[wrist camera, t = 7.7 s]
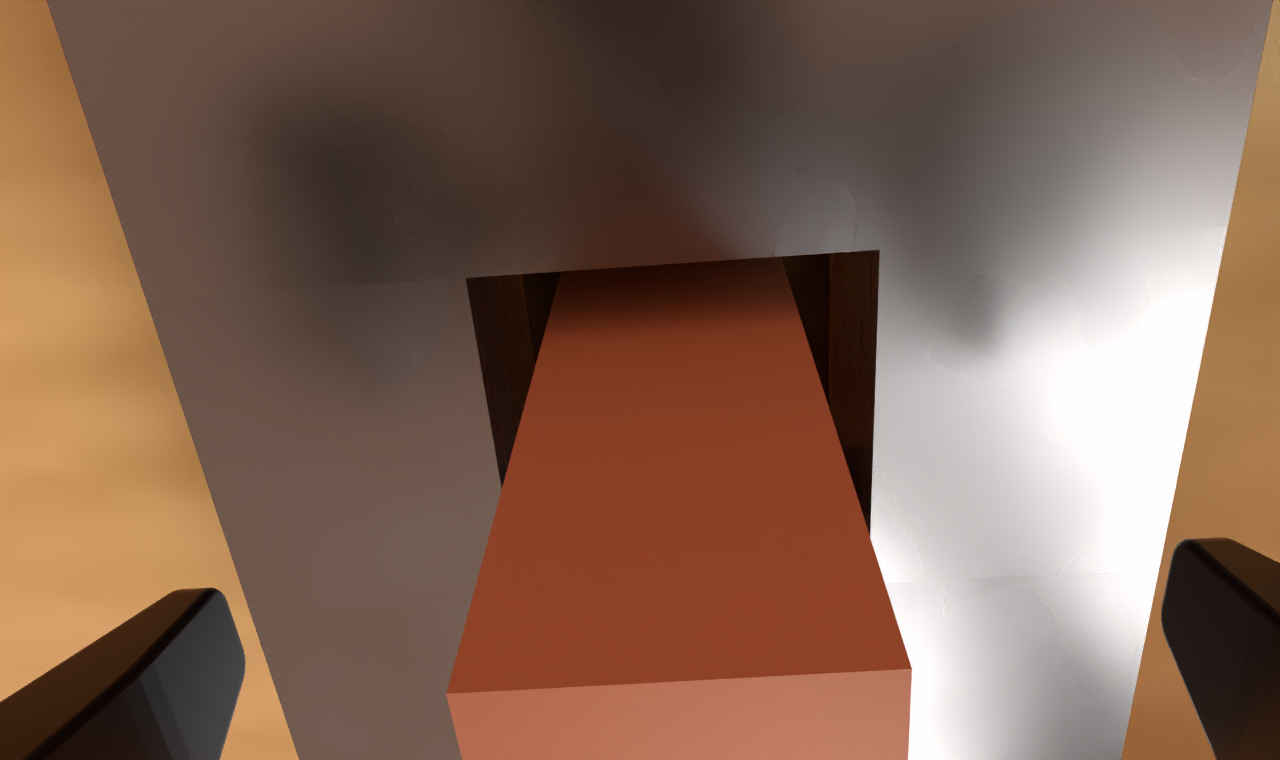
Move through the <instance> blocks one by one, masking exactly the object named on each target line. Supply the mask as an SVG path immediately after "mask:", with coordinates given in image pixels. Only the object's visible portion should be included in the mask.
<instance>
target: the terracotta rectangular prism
mask: <svg viewBox="0 0 1280 760" xmlns="http://www.w3.org/2000/svg"><path fill="white" fill-rule="evenodd" d="M911 682H912V667H911V664H910V661H909V658H908V654H907V651H906V648H905V645H904V642H903V639H902V636H901V633H900V629H899V626H898V623H897V620H896V617H895V614H894V611H893V607H892V604H891V601H890V598H889V595H888V592H887V589H886V585H885V582H884V579H883V576H882V573H881V570H880V567H879V563H878V560H877V557H876V554H875V551H874V548H873V545H872V541H871V538H870V535H869V532H868V529H867V526H866V523H865V519H864V516H863V513H862V510H861V507H860V504H859V501H858V497H857V494H856V491H855V488H854V485H853V482H852V479H851V476H850V472H849V469H848V466H847V463H846V460H845V457H844V454H843V450H842V447H841V444H840V441H839V438H838V435H837V432H836V428H835V425H834V422H833V419H832V416H831V413H830V410H829V406H828V403H827V400H826V397H825V394H824V391H823V388H822V384H821V381H820V378H819V375H818V372H817V369H816V366H815V362H814V359H813V356H812V353H811V350H810V347H809V344H808V341H807V337H806V334H805V331H804V328H803V325H802V322H801V319H800V315H799V312H798V309H797V306H796V303H795V300H794V297H793V293H792V290H791V287H790V284H789V281H788V278H787V275H786V271H785V268H784V265H783V262H782V259H781V256H780V257H765V258H750V259H736V260H721V261H706V262H692V263H677V264H662V265H647V266H633V267H618V268H603V269H589V270H574V271H561V274H560V278H559V281H558V285H557V289H556V292H555V296H554V300H553V304H552V307H551V311H550V315H549V318H548V322H547V326H546V329H545V333H544V337H543V340H542V344H541V348H540V351H539V355H538V359H537V362H536V366H535V370H534V373H533V377H532V381H531V384H530V388H529V392H528V395H527V399H526V403H525V406H524V410H523V414H522V417H521V421H520V425H519V428H518V432H517V436H516V439H515V443H514V447H513V450H512V454H511V458H510V461H509V465H508V469H507V472H506V476H505V480H504V483H503V487H502V491H501V494H500V498H499V502H498V505H497V509H496V513H495V516H494V520H493V524H492V527H491V531H490V535H489V538H488V542H487V546H486V549H485V553H484V557H483V560H482V564H481V568H480V571H479V575H478V579H477V582H476V586H475V590H474V593H473V597H472V601H471V604H470V608H469V612H468V615H467V619H466V623H465V626H464V630H463V634H462V637H461V641H460V645H459V648H458V652H457V656H456V659H455V663H454V667H453V670H452V674H451V678H450V681H449V685H448V689H447V692H446V696H447V700H448V704H449V708H450V712H451V716H452V720H453V724H454V728H455V732H456V736H457V740H458V744H459V748H460V753H461V757H462V760H908V752H909V729H910V706H911Z"/></svg>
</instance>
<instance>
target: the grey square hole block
mask: <svg viewBox="0 0 1280 760" xmlns="http://www.w3.org/2000/svg"><path fill="white" fill-rule="evenodd" d="M47 3H48V6H49V9H50V12H51V15H52V18H53V21H54V24H55V27H56V30H57V33H58V36H59V39H60V42H61V45H62V48H63V51H64V54H65V57H66V60H67V63H68V66H69V69H70V72H71V75H72V78H73V81H74V84H75V87H76V90H77V93H78V96H79V99H80V102H81V105H82V108H83V111H84V114H85V117H86V120H87V123H88V126H89V129H90V132H91V135H92V138H93V141H94V144H95V147H96V150H97V153H98V156H99V159H100V162H101V165H102V168H103V171H104V174H105V177H106V180H107V183H108V186H109V189H110V192H111V195H112V198H113V201H114V204H115V207H116V210H117V213H118V216H119V219H120V222H121V225H122V228H123V231H124V234H125V237H126V240H127V243H128V246H129V249H130V252H131V255H132V258H133V261H134V264H135V267H136V270H137V273H138V276H139V279H140V282H141V285H142V288H143V291H144V294H145V297H146V300H147V303H148V306H149V309H150V312H151V315H152V318H153V321H154V324H155V327H156V330H157V333H158V336H159V339H160V342H161V345H162V348H163V351H164V354H165V357H166V360H167V363H168V367H169V370H170V373H171V376H172V379H173V382H174V385H175V388H176V391H177V394H178V397H179V400H180V403H181V406H182V409H183V412H184V415H185V418H186V421H187V424H188V427H189V430H190V433H191V436H192V439H193V442H194V445H195V448H196V451H197V454H198V457H199V460H200V463H201V466H202V469H203V472H204V475H205V478H206V481H207V484H208V487H209V490H210V493H211V496H212V499H213V502H214V505H215V508H216V511H217V514H218V517H219V520H220V523H221V526H222V529H223V532H224V535H225V538H226V541H227V544H228V547H229V550H230V553H231V556H232V559H233V562H234V565H235V568H236V571H237V574H238V577H239V580H240V583H241V586H242V589H243V592H244V595H245V598H246V601H247V604H248V607H249V610H250V613H251V616H252V619H253V622H254V625H255V628H256V631H257V634H258V637H259V640H260V643H261V646H262V649H263V652H264V655H265V658H266V661H267V664H268V667H269V670H270V673H271V676H272V679H273V682H274V685H275V688H276V691H277V694H278V697H279V700H280V703H281V706H282V709H283V712H284V715H285V718H286V721H287V724H288V727H289V730H290V733H291V736H292V739H293V742H294V745H295V748H296V751H297V754H298V757H299V760H462V757H461V753H460V748H459V744H458V740H457V736H456V732H455V728H454V724H453V720H452V716H451V712H450V708H449V704H448V700H447V696H446V692H447V689H448V685H449V681H450V678H451V674H452V670H453V667H454V663H455V659H456V656H457V652H458V648H459V645H460V641H461V637H462V634H463V630H464V626H465V623H466V619H467V615H468V612H469V608H470V604H471V601H472V597H473V593H474V590H475V586H476V582H477V579H478V575H479V571H480V568H481V564H482V560H483V557H484V553H485V549H486V546H487V542H488V538H489V535H490V531H491V527H492V524H493V520H494V516H495V513H496V509H497V505H498V502H499V498H500V494H501V491H502V487H503V483H504V480H505V476H506V472H507V469H508V465H509V461H510V458H511V454H512V450H513V447H514V443H515V439H516V436H517V432H518V428H519V425H520V421H521V417H522V414H523V410H524V406H525V403H526V399H527V395H528V392H529V388H530V384H531V381H532V377H533V373H534V370H535V363H534V356H533V349H532V342H531V335H530V328H529V321H528V314H527V307H526V300H525V293H524V286H523V279H522V274H530V273H545V272H559V271H574V270H589V269H603V268H618V267H633V266H647V265H662V264H677V263H692V262H706V261H721V260H736V259H750V258H765V257H780V256H794V255H809V254H824V253H830V296H829V410H830V413H831V416H832V419H833V422H834V425H835V428H836V432H837V435H838V438H839V441H840V444H841V447H842V450H843V454H844V457H845V460H846V463H847V466H848V469H849V472H850V476H851V479H852V482H853V485H854V488H855V491H856V494H857V497H858V501H859V504H860V507H861V510H862V513H863V516H864V519H865V523H866V526H867V529H868V532H869V535H870V538H871V541H872V545H873V548H874V551H875V554H876V557H877V560H878V563H879V567H880V570H881V573H882V576H883V579H884V582H885V585H886V589H887V592H888V595H889V598H890V601H891V604H892V607H893V611H894V614H895V617H896V620H897V623H898V626H899V629H900V633H901V636H902V639H903V642H904V645H905V648H906V651H907V654H908V658H909V661H910V664H911V667H912V682H911V706H910V729H909V752H908V760H1121V757H1122V752H1123V747H1124V742H1125V737H1126V732H1127V727H1128V722H1129V717H1130V712H1131V707H1132V702H1133V697H1134V692H1135V687H1136V682H1137V677H1138V672H1139V667H1140V662H1141V657H1142V652H1143V647H1144V642H1145V637H1146V632H1147V627H1148V622H1149V617H1150V612H1151V607H1152V602H1153V597H1154V592H1155V587H1156V582H1157V577H1158V572H1159V567H1160V562H1161V557H1162V552H1163V547H1164V542H1165V537H1166V532H1167V527H1168V522H1169V517H1170V512H1171V507H1172V502H1173V497H1174V492H1175V487H1176V482H1177V477H1178V472H1179V467H1180V462H1181V457H1182V452H1183V447H1184V442H1185V437H1186V432H1187V427H1188V422H1189V417H1190V412H1191V407H1192V402H1193V397H1194V392H1195V387H1196V382H1197V377H1198V372H1199V367H1200V362H1201V357H1202V353H1203V348H1204V343H1205V338H1206V333H1207V328H1208V323H1209V318H1210V313H1211V308H1212V303H1213V298H1214V293H1215V288H1216V283H1217V278H1218V273H1219V268H1220V263H1221V258H1222V253H1223V248H1224V243H1225V238H1226V233H1227V228H1228V223H1229V218H1230V213H1231V208H1232V203H1233V198H1234V193H1235V188H1236V183H1237V178H1238V173H1239V168H1240V163H1241V158H1242V153H1243V148H1244V143H1245V138H1246V133H1247V128H1248V123H1249V118H1250V113H1251V108H1252V103H1253V98H1254V93H1255V88H1256V83H1257V78H1258V73H1259V68H1260V63H1261V58H1262V53H1263V48H1264V43H1265V38H1266V33H1267V28H1268V23H1269V18H1270V13H1271V8H1272V3H1273V0H47Z"/></svg>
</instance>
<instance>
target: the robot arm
mask: <svg viewBox="0 0 1280 760" xmlns="http://www.w3.org/2000/svg"><path fill="white" fill-rule="evenodd" d="M1161 622H1162V628H1163V632H1164V635H1165V638H1166V641H1167V643H1168V646H1169V648H1170V650H1171V653H1172V655H1173V658H1174V660H1175V662H1176V665H1177V667H1178V670H1179V672H1180V674H1181V677H1182V679H1183V682H1184V684H1185V686H1186V689H1187V691H1188V694H1189V696H1190V698H1191V701H1192V703H1193V706H1194V708H1195V710H1196V713H1197V715H1198V718H1199V720H1200V722H1201V725H1202V727H1203V730H1204V732H1205V734H1206V737H1207V739H1208V742H1209V744H1210V746H1211V749H1212V751H1213V754H1214V756H1215V758H1216V760H1280V563H1278V562H1276V561H1274V560H1272V559H1270V558H1268V557H1266V556H1264V555H1262V554H1260V553H1258V552H1256V551H1254V550H1252V549H1250V548H1248V547H1246V546H1244V545H1242V544H1240V543H1238V542H1236V541H1234V540H1232V539H1229V538H1200V539H1186V540H1183V541H1182V542H1180V543H1179V544H1177V546H1176V548H1175V549H1174V552H1173V555H1172V560H1171V565H1170V569H1169V574H1168V579H1167V584H1166V589H1165V594H1164V599H1163V603H1162V609H1161ZM244 674H245V654H244V650H243V647H242V644H241V641H240V638H239V635H238V632H237V629H236V626H235V623H234V620H233V617H232V615H231V612H230V609H229V606H228V603H227V600H226V598H225V596H224V595H223V594H222V592H221V591H219V590H217V589H215V588H197V589H181V590H176V591H173V592H171V593H169V594H168V595H166V596H165V597H163V598H162V599H160V600H158V601H157V602H155V603H154V604H152V605H151V606H149V607H148V608H146V609H144V610H143V611H141V612H140V613H138V614H137V615H135V616H134V617H132V618H130V619H129V620H127V621H126V622H124V623H123V624H121V625H120V626H118V627H116V628H115V629H113V630H112V631H110V632H109V633H107V634H106V635H104V636H102V637H101V638H99V639H98V640H96V641H95V642H93V643H92V644H90V645H88V646H87V647H85V648H84V649H82V650H81V651H79V652H77V653H76V654H74V655H73V656H71V657H70V658H68V659H67V660H65V661H63V662H62V663H60V664H59V665H57V666H56V667H54V668H53V669H51V670H49V671H48V672H46V673H45V674H43V675H42V676H40V677H39V678H37V679H35V680H34V681H32V682H31V683H29V684H28V685H26V686H25V687H23V688H21V689H20V690H18V691H17V692H15V693H14V694H12V695H11V696H9V697H7V698H6V699H4V700H3V701H1V702H0V760H220V757H221V754H222V750H223V747H224V744H225V740H226V737H227V733H228V730H229V727H230V723H231V720H232V716H233V713H234V710H235V706H236V703H237V699H238V696H239V693H240V689H241V686H242V682H243V679H244Z"/></svg>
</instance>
